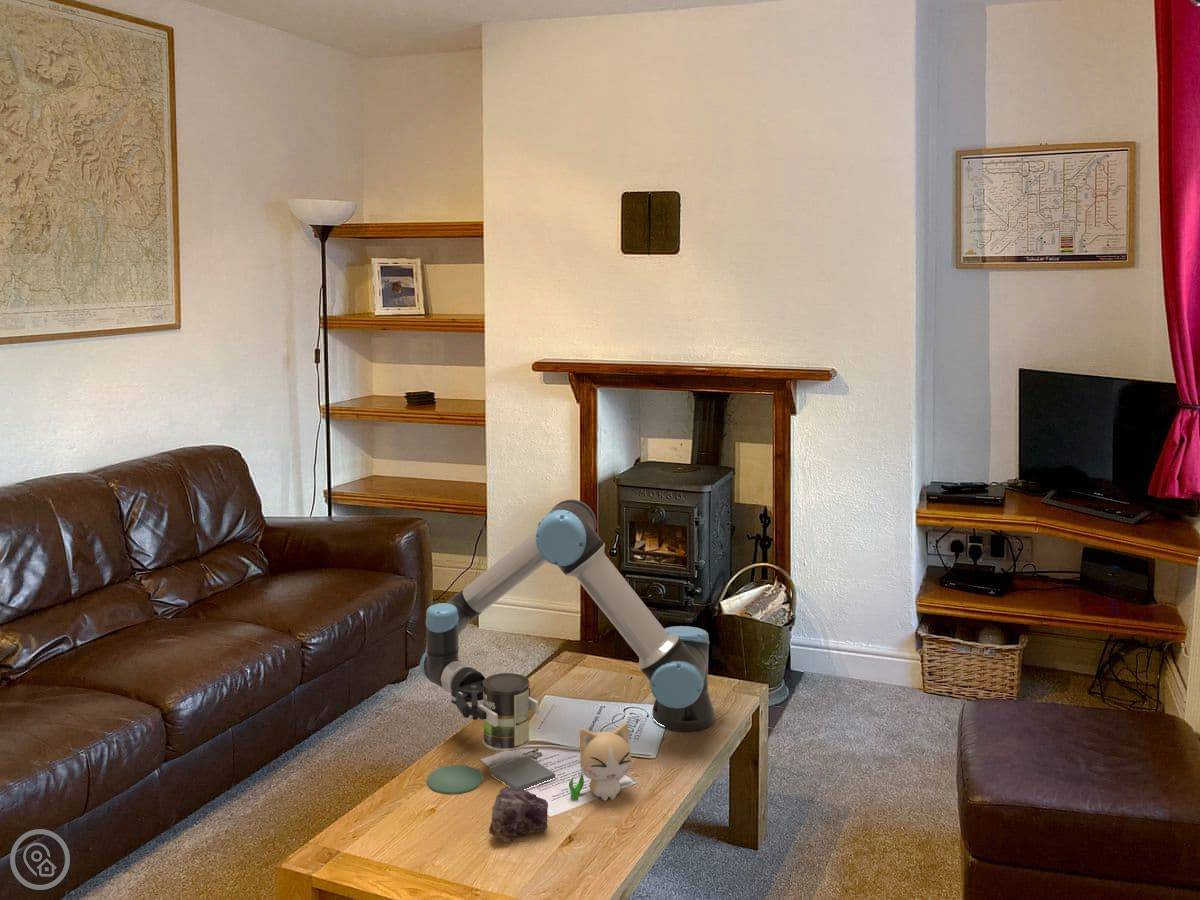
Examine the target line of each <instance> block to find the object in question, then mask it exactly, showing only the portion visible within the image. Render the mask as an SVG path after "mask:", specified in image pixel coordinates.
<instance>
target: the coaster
mask: <svg viewBox="0 0 1200 900" xmlns="http://www.w3.org/2000/svg"><path fill="white" fill-rule="evenodd" d="M483 778H484V776H483V773H482V772H481V771H480V770H479V769H477V768H476V767H474V766H468V765H462V764H456V765H453V764H452V765H447V766H442V767H439V768H437V769H435V770H433V771H431V772H430V773H429V774H428V775H427V778H426V784H427V787H429V789H430V790H432V791H433V792H436V793H439V794H446V795H459V794H460V795H461V794H465V792H466V793H469V792H471V790H472V791H474V790H475V788H476V789H477V788H479V787H480V786H481V785H482V784H483V780H484V779H483ZM480 784H481V785H480ZM479 785H480V786H479ZM478 786H479V787H478ZM468 791H469V792H468Z"/></svg>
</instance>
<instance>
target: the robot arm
mask: <svg viewBox="0 0 1200 900" xmlns="http://www.w3.org/2000/svg"><path fill="white" fill-rule="evenodd" d="M596 528H597V520H596V515H595V512H594V511H593V510H592V508H591V507H590V506H589V505H588V504H587V503H585V502H583V501H581V500H578V499H566V500H562V501H560V502H559V503H557V504H555V506H554V507H552V509H551V510H550V511H549V512H548V513H547V514H546V515H545V516H544V517H543V518H542V519H541V520H540V521H539V522H538V523H537V529H536V530H535V531H534V532H532V533H531V534H530V535H529V536H528V537H526V538H525V539H524V540H522V541H521V542H520V543H518V545H516V546H515V547H514V548H512V549H511V550H510V551H509V552H507V553H506V554H505V555H504V556H503V557H502V558H500V559H499V560H498V561H496V562H495V563H493V564H492V565H491V566H490V567H488V569H486V570H485V571H484V572H483V573H481V574H480V575H478V577H476V578H475V579H474V580H472V582H469V584H468V585H467V586H465V587H463V589H462V590H460V591H459V592H458V593H455V594H453V595H452V596H451V597H450V598H449V599H448V600H447V602H446V603H445V602H444V603H443V602H442V603H441V602H440V603H435V604H434V605H430V606H429V607H427V609H426V615H425V617H426V618H425V629H426V651H424V653H423V654H422V657H421V659H420V661H419V669H420V672H421V674H422V675H423V676H424V677H425V678H426V679H427V680H428V681H429V682H431V683H433V684H435V685H437V686H439V687H441V688H442V689H443V690H445V691H447V692H449V693H450V694H451V696H450V697H451V701H450V702H451V703H452V704H454V705H455V706H456V708H457V709H458V711H459V712H460V714H461V715H462V716H463V718H464V719H467V718H470V716H472V717H471V718H472V720H473V721H476V720H478V719H480V720H483V721H484V720H485V721H486V722H488V723H490V724H491V725H493V726H494V727H496V726H498V714H496V713H495V712H493V711H492V710H490V709H488V708H487V707H485V706H484V705H483V703H481V704H478V703H479V702H478V701H483V681H484V679H486V677H485V675H483V674H482V672H480V671H478V670H477V669H475V668H474V667H472V666H471V665H468V664H466V663H465V662H463V661H461V660H459V635H460V634H461V633H462V631H463V630H464V629H465V628H466V627H467V626H468V625H469V624H470V623H471V622H472V621H474V620H475V619H476V618H477V617H478V616H480V615H481V614H482V613H483V612H485V611H486V610H488V608H490V607H491V606H492V605H493V604H495V603H496V602H497V601H498V600H500V599H501V598H503V597H504V596H505V595H506V594H507V593H509V592H510V591H512V590H513V589H514V588H515V587H517V586H518V585H519V584H520V583H521V582H523V581H524V580H525V579H527V578H528V577H529V576H531V575H532V574H533V573H535V571H537V570H538V569H540V568H541V567H542V566H543V565H545V564H546V563H549V564H551V565H554V566H557V567H558V568H559V569H560V571H561V572H562V573H563V574H564V575H565V577H566V576H567V577H574V578H576V581H578V582H579V584H580V585H581V587H583V589H584V590H585V591H586V592H587V594H588V595H589V596H590V598H591V599H592V600H593V601H594V603H595V604H596V605H597V606H598V608H599V609H600V610H601V611H602V612H603V614H604V615H605V616H606V618H608V620H609V621H610V622H611V624H612V625H613V626H614V628H615V629H616V630H617V631H618V633H619V634H620V635H621V636H622V637H623V639H624V640H625V641H626V643H627V644H628V646H629V647H630V648H631V649H632V650H633V651H634V652H635V654H636V655H637V656H638V658H639V661H638V668H639V670H640V671H641V672H642V673H643V674H644V676H645V678H647V680H648V681H649V683H650V684H649V687H650V690H651V693H652V696H653V697H654V704H653V706H652V711H651V713H652V715H653V718H654V719H655V720H656V721H657V722H658V723H660V724H662V725H664V726H665V728H664V729H666V730H670V731H676V732H696V731H701V730H704V729H706V728H708V727H710V726H712V725H713V723H714V722H715V710H714V707H713V704H712V700H711V696H710V693H709V689H708V686H709V683H708V681H709V649H710V648H709V646H710V643H711V642H710V639H709V637H710V636H709V633H708V632H707V631H706V630H705V629H702V628H700V627H694V626H689V625H686V626H685V625H684V626H683V625H679V626H678V625H677V626H676V625H675V626H669V627H665V628H664V627H663V625H662V624H661V623H660V622H659V620H658V619H657V618H656V616H655V615H653V613H652V611H651V610H650V609H649V608H648V607H647V605H646V604H645V603H644V601H643V600H642V598H640V597H639V595H638V594H637V593H636V591H635V590H634V589H633V588H632V587H631V585H630V584H629V583H628V582H627V580H626V579H625V577H624V576H623V575H622V574H621V573H620V572H619V570H618V568H616V566H615V565H614V564H613V562H611V560H610V558H609V557H607V555H606V553H605V547H606V543H605V542H604V540H603V539H602V538H601V537H600V536H599V534H598V533H597V532H596V530H597V529H596ZM469 703H471V706H470V705H469ZM539 704H540V702H539V701H538V700H536V699H534V697H532V696H531V687H529V711H530V712H531V713H533V714H535V715H538V714H540V711H539V709H540V705H539ZM652 715H651V716H652ZM653 718H652V719H653Z"/></svg>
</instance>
